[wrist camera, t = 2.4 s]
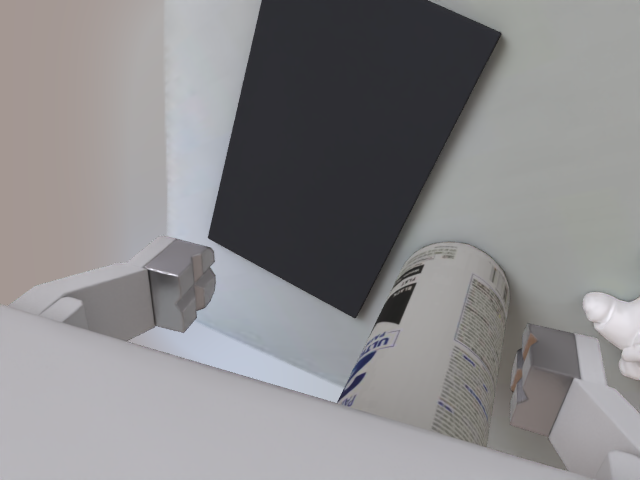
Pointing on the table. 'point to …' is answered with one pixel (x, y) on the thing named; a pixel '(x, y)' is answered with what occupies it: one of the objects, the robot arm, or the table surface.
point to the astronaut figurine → (617, 327)
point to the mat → (341, 135)
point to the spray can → (436, 344)
